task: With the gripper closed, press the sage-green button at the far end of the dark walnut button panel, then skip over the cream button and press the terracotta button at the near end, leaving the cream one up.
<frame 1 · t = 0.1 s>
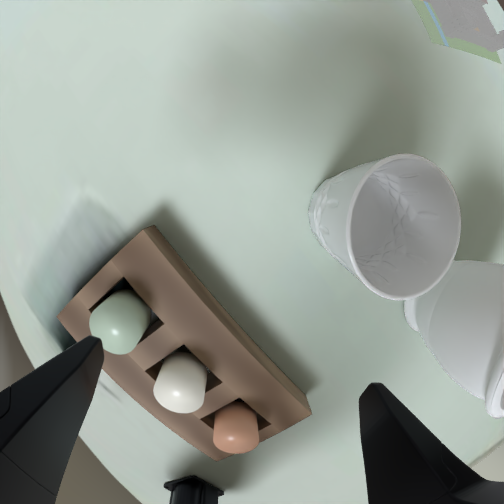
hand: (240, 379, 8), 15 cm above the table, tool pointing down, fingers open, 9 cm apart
jar: (433, 293, 25), on the table
white cup: (345, 213, 23), on the table
castle model: (447, 9, 19), on the table
panel: (187, 359, 25), on the table
button cream: (181, 382, 21), point 4 cm above the table, slide at 0.0 cm
button terracotta: (235, 427, 22), point 4 cm above the table, slide at 0.0 cm
button sage: (121, 320, 20), point 4 cm above the table, slide at 0.0 cm
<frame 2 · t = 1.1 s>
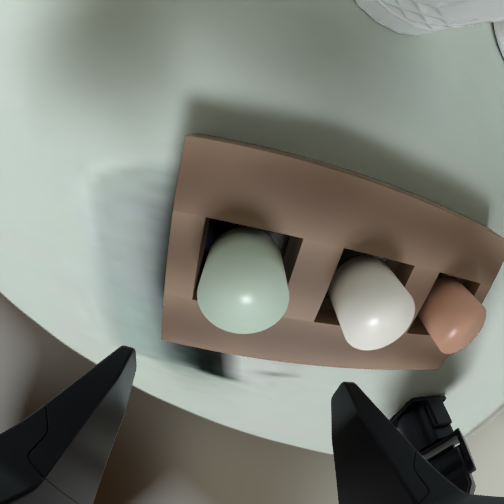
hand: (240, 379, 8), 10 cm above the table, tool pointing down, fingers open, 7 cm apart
panel: (350, 269, 18), on the table
button cream: (370, 302, 15), point 4 cm above the table, slide at 0.0 cm
button terracotta: (451, 314, 15), point 4 cm above the table, slide at 0.0 cm
button sage: (243, 278, 14), point 4 cm above the table, slide at 0.0 cm
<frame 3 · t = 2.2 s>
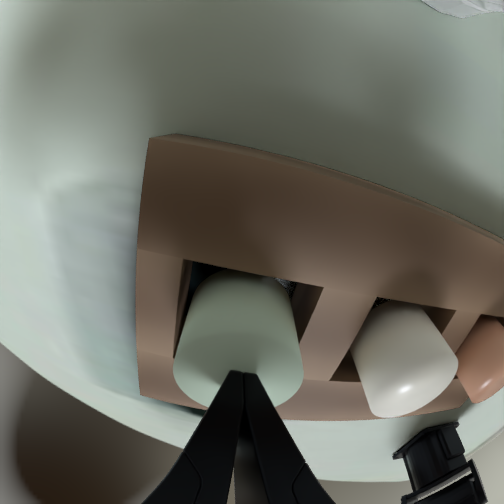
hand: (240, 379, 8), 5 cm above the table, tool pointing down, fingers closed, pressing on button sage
panel: (374, 309, 14), on the table
button cream: (401, 359, 10), point 4 cm above the table, slide at 0.0 cm
button terracotta: (485, 358, 11), point 4 cm above the table, slide at 0.0 cm
button sage: (239, 341, 10), point 4 cm above the table, slide at 0.0 cm, touching gripper
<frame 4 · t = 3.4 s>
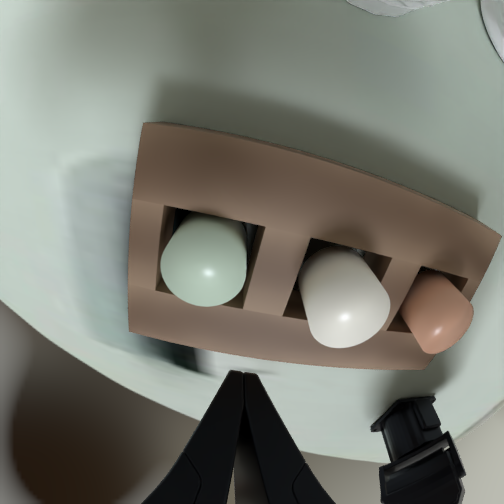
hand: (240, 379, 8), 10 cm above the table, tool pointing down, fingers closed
panel: (325, 261, 17), on the table
button cream: (341, 296, 14), point 4 cm above the table, slide at 0.0 cm
button terracotta: (435, 311, 15), point 4 cm above the table, slide at 0.0 cm
button sage: (207, 254, 15), point 2 cm above the table, slide at -1.5 cm
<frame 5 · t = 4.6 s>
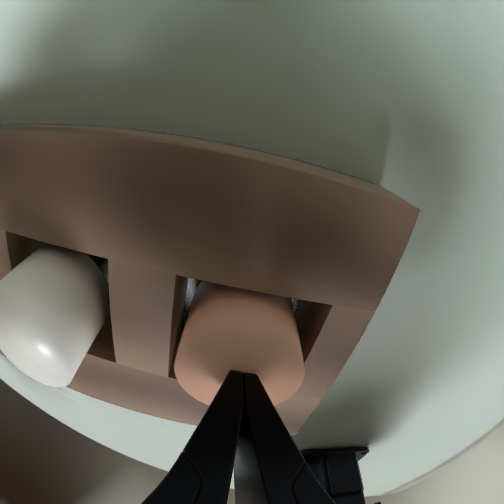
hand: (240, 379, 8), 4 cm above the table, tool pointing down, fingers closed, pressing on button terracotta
panel: (90, 264, 11), on the table
button cream: (47, 313, 8), point 4 cm above the table, slide at 0.0 cm
button terracotta: (240, 340, 10), point 3 cm above the table, slide at -1.2 cm, touching gripper
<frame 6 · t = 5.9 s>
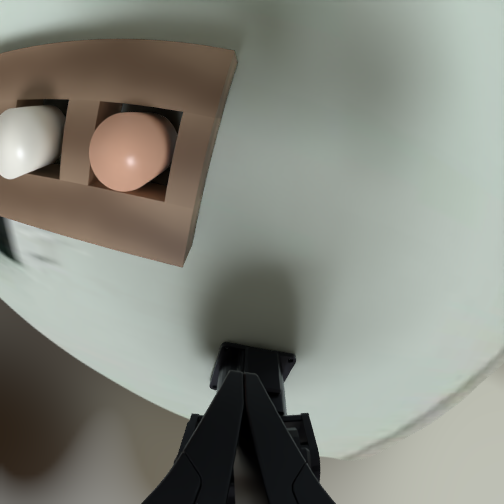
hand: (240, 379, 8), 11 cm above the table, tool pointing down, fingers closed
panel: (61, 131, 15), on the table
button cream: (27, 139, 12), point 4 cm above the table, slide at 0.0 cm
button terracotta: (135, 148, 14), point 2 cm above the table, slide at -1.5 cm
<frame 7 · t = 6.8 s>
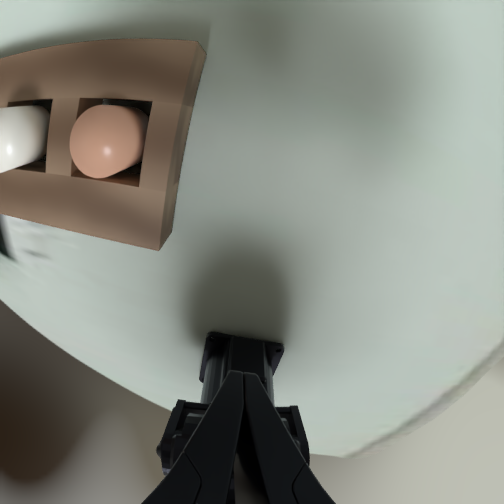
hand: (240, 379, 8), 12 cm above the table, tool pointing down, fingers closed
panel: (49, 130, 15), on the table
button cream: (17, 136, 12), point 4 cm above the table, slide at 0.0 cm
button terracotta: (112, 138, 14), point 2 cm above the table, slide at -1.5 cm
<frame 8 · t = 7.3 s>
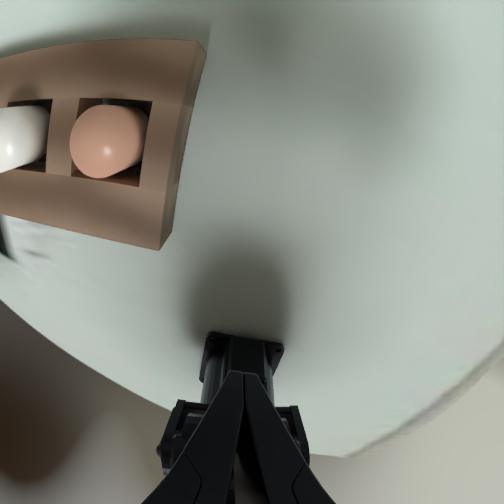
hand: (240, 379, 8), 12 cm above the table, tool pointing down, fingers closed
panel: (49, 130, 15), on the table
button cream: (17, 136, 12), point 4 cm above the table, slide at 0.0 cm
button terracotta: (112, 139, 14), point 2 cm above the table, slide at -1.5 cm
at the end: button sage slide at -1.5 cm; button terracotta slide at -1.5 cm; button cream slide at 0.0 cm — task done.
